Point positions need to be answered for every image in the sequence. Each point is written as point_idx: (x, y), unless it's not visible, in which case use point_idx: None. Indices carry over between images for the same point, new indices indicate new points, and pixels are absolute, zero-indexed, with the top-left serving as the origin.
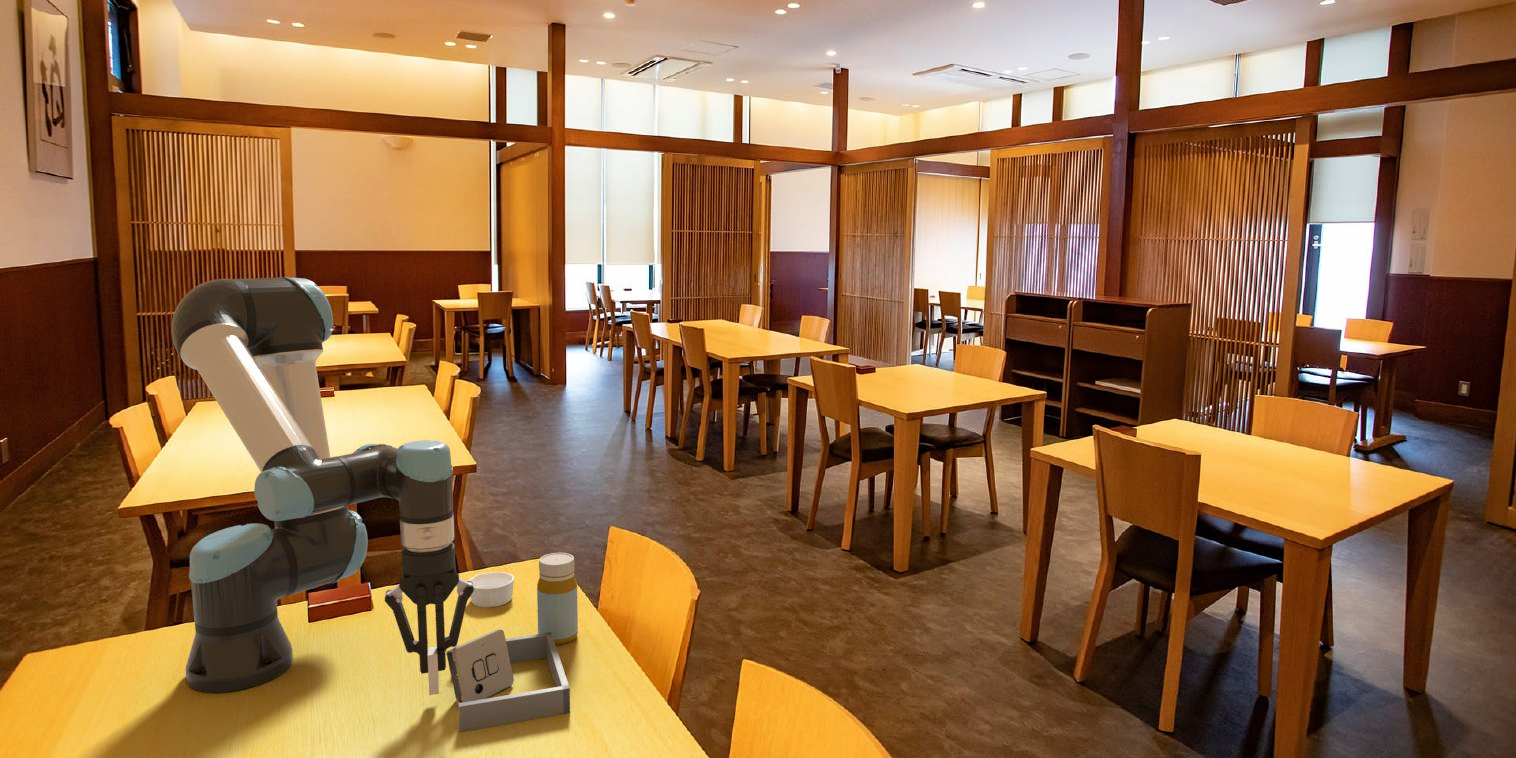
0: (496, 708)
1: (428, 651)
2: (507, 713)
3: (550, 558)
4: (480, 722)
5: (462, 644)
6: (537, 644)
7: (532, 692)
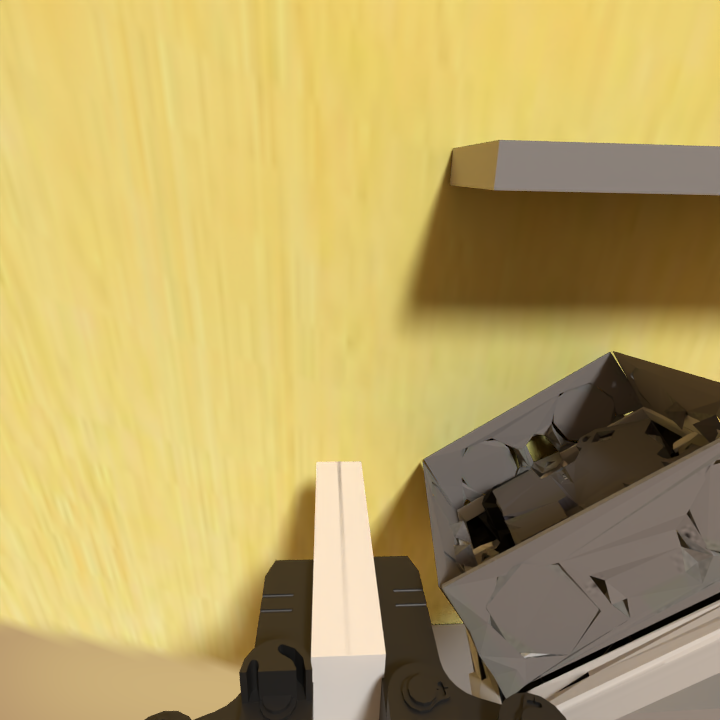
0: None
1: (317, 704)
2: None
3: None
4: None
5: (571, 711)
6: None
7: (706, 717)
